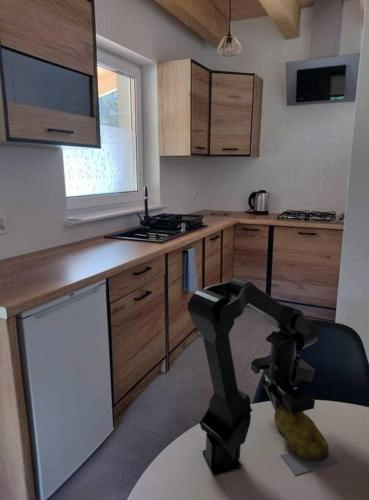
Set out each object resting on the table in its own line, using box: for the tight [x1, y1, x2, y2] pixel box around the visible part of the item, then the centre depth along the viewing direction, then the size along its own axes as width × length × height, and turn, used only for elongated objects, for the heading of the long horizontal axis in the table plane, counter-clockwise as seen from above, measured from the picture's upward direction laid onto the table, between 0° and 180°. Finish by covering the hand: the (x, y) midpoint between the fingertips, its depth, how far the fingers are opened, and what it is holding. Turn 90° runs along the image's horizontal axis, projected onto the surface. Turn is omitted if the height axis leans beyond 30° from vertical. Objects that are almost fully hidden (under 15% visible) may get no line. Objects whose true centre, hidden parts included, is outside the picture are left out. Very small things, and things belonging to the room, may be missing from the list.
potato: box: [273, 405, 330, 461], centre depth 79 cm, size 8×13×8 cm, turn 15°
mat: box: [280, 451, 340, 476], centre depth 77 cm, size 11×5×1 cm, turn 108°
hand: (277, 412), depth 88 cm, fingers closed
